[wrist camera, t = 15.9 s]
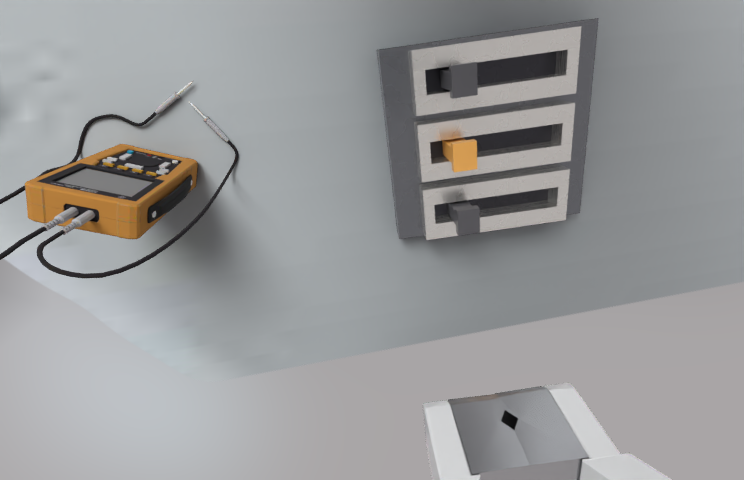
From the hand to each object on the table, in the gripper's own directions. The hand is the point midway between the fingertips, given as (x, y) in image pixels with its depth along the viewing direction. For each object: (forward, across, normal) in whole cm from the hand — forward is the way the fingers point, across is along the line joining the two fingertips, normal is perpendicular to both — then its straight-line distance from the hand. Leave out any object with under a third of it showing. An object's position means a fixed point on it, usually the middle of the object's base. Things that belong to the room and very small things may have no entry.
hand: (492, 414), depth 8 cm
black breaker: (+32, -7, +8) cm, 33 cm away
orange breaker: (+32, -7, +2) cm, 33 cm away
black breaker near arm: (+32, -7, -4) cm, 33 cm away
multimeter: (+34, +20, -3) cm, 40 cm away
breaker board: (+34, -10, +2) cm, 36 cm away
